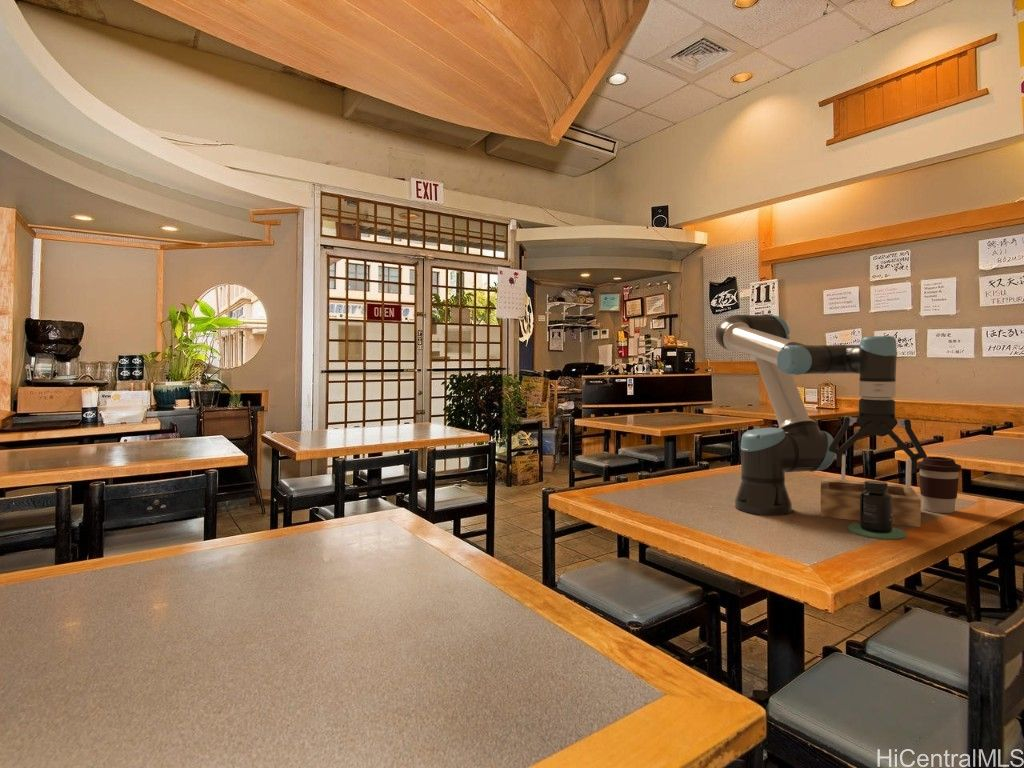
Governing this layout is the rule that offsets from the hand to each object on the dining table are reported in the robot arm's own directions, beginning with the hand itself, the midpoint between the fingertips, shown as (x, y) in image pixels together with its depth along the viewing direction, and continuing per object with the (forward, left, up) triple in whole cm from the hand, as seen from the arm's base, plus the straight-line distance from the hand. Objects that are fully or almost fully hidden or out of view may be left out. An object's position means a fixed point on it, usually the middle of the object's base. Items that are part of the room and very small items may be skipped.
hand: (874, 483), depth 137 cm
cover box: (-1, +20, -12) cm, 23 cm away
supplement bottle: (0, 0, -12) cm, 12 cm away
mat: (0, 0, -12) cm, 12 cm away
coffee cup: (+17, +32, -13) cm, 38 cm away
